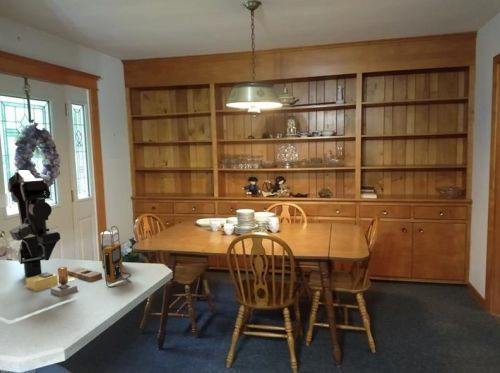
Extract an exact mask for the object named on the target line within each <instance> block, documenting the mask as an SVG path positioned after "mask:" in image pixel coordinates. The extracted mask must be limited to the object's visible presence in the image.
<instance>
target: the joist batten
mask: <svg viewBox="0 0 500 373" xmlns="http://www.w3.org/2000/svg"><path fill="white" fill-rule="evenodd" d="M67 275H70V276H73V277H77V278H78V279H80V280H83V281H87V282H93V281H96V280H98V279H102V278H103V274H102V272H99V271H95V270H92V269H89V268H85V267H81V266H76V267H73V268H69V269H67Z"/></svg>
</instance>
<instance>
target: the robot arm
mask: <svg viewBox="0 0 500 373" xmlns="http://www.w3.org/2000/svg"><path fill="white" fill-rule="evenodd" d="M7 189H8V193H10V196H11V198H12V199H13V200H14V201H15V202H16V204H17V209H18V210H17V211H18V215H19V220H20V225H18V226H16V227H14V228H11V230H9V231H8V232H9V234H10V236H11V237H12V240H16V241H18V242H19V241H21V242H20V244H19V248H18V253H17V259H18V263H19V264H20V265H23V269H24V270H23V271H24V277H26V278H31V277H34V276H37V275H39V274H43V272H42V262H41V261H49V260H50V258H51V256H52V254H53V251H54V249H55V248H56V244H57V243H58V242H59V241H60V240H61V234H60V232H58V231H54V230H50V228H48V227H47V221H49V217H50V216H51V214H52V211H53V210H52V207H51V205H50V203H48V202H46V200H47V199H48V200H49V199H51V197H50V196H51V191H50V190H51V189H50V187H49V185H48V184H47V181H45V180H44V179H43V178H42V177H41V178H39V177H35V176H34V175H33V174H32V172H31V170H28V169H27V170H25V169H24V170H16V171H14V174H13V175H12V176H10V177H9V178H8V182H7Z"/></svg>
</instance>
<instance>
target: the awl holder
mask: <svg viewBox="0 0 500 373" xmlns="http://www.w3.org/2000/svg"><path fill="white" fill-rule="evenodd" d="M49 289H50V294H53V295H55V296H58V297H63V296H66V295H70V294H72V293H75V292H77V291H78V290H79V289H78V285H77V284H74V283H70V282H68V283H67V288H64V289H61V284H60V285H57V286H54V287H51V288H49Z"/></svg>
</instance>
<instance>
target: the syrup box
mask: <svg viewBox="0 0 500 373" xmlns="http://www.w3.org/2000/svg"><path fill="white" fill-rule="evenodd" d="M104 231H105V230H104ZM104 231H102V232H101V233H99V237H100V251H101V261H102V262H101V263H102V268H104V264H105V257H104V261H103V254H104V248H106V247H108V246H110V245H111V237H112V231H113V240H114V244H119V243H120V239H119V240H118V231H119V230H109V231H110V232H111V233H110V232H109V231H108V230H106V231H105V232H104ZM103 232H104V234H103ZM102 235H103V251H102ZM120 244H121V243H120Z"/></svg>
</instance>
